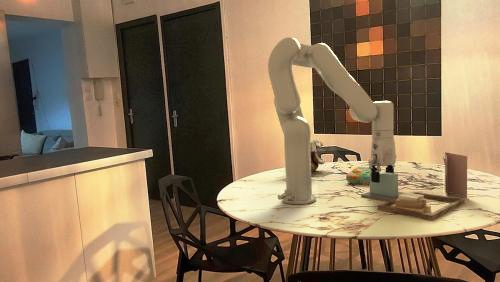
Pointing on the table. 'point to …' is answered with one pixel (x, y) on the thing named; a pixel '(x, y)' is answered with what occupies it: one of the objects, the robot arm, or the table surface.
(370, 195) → the mat
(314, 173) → the cherub figurine
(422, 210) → the offcut large
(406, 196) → the offcut small
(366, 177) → the puzzle game
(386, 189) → the pale teal block
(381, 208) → the brown wooden frame
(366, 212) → the table surface
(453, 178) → the greeting card
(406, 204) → the offcut mid
